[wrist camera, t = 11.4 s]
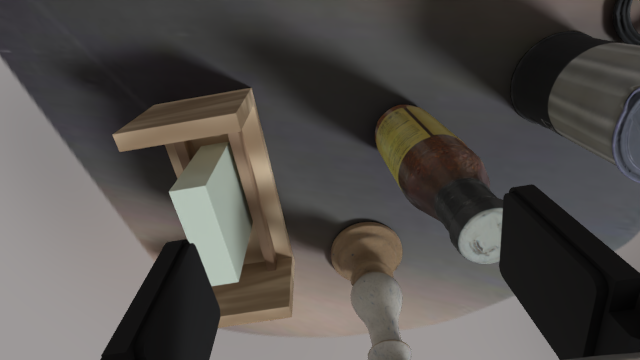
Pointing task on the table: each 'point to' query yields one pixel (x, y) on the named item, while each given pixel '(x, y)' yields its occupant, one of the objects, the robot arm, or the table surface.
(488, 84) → the table surface
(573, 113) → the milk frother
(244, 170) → the track
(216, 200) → the rectangular block
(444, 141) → the sauce bottle
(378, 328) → the candle holder
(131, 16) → the table surface
